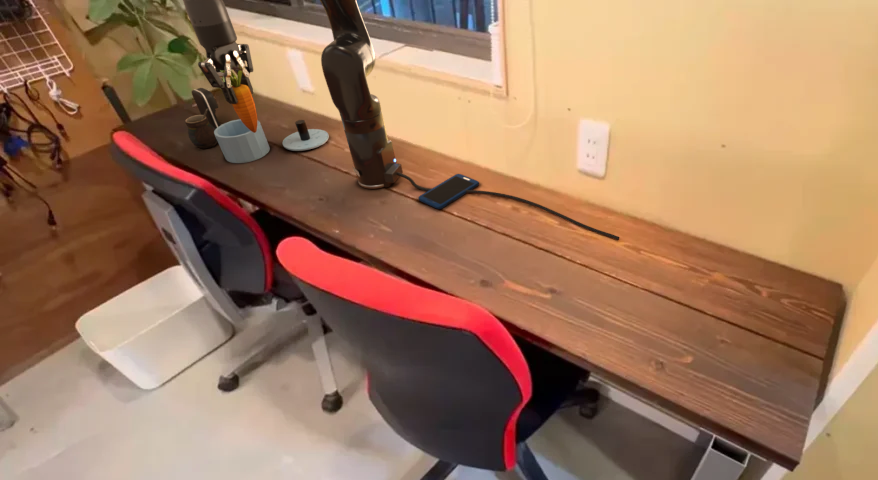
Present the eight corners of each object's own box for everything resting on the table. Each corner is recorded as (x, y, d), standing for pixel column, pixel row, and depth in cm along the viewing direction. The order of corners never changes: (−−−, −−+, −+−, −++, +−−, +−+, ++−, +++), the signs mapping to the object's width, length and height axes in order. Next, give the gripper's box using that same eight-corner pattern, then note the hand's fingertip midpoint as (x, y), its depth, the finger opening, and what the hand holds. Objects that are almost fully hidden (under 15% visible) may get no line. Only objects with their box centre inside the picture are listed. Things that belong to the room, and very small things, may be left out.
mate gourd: (191, 145, 148) (174, 111, 142) (218, 136, 152) (203, 103, 145) (198, 153, 144) (181, 119, 137) (225, 144, 147) (210, 110, 141)
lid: (337, 134, 149) (332, 114, 145) (313, 154, 140) (307, 133, 136) (300, 130, 152) (293, 110, 148) (274, 150, 143) (266, 129, 139)
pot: (278, 145, 146) (269, 120, 141) (252, 165, 137) (241, 139, 132) (243, 141, 148) (233, 117, 144) (216, 161, 140) (204, 135, 135)
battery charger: (228, 127, 156) (212, 90, 149) (216, 132, 154) (199, 94, 147) (218, 121, 160) (201, 85, 152) (206, 126, 158) (189, 89, 150)
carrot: (269, 128, 127) (245, 65, 117) (259, 137, 123) (234, 73, 114) (250, 128, 128) (225, 66, 118) (240, 137, 124) (213, 73, 114)
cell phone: (480, 184, 124) (480, 181, 124) (439, 210, 116) (438, 207, 116) (458, 175, 128) (458, 172, 127) (417, 200, 120) (416, 197, 120)
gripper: (200, 30, 103) (234, 112, 114) (247, 10, 113) (274, 88, 124) (170, 28, 105) (206, 110, 116) (218, 9, 115) (247, 86, 126)
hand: (241, 98), depth 120 cm, fingers closed on carrot, 5 cm apart
